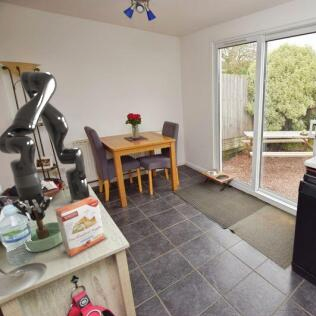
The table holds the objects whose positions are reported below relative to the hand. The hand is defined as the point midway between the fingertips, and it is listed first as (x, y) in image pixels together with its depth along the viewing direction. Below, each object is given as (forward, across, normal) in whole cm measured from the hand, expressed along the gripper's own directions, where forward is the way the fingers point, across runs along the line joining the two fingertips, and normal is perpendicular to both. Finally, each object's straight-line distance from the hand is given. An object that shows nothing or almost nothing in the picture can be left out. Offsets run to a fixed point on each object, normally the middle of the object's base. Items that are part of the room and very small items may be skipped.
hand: (38, 219), depth 96 cm
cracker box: (+12, -18, +8) cm, 23 cm away
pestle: (+9, 0, 0) cm, 9 cm away
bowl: (+12, -1, +1) cm, 12 cm away
